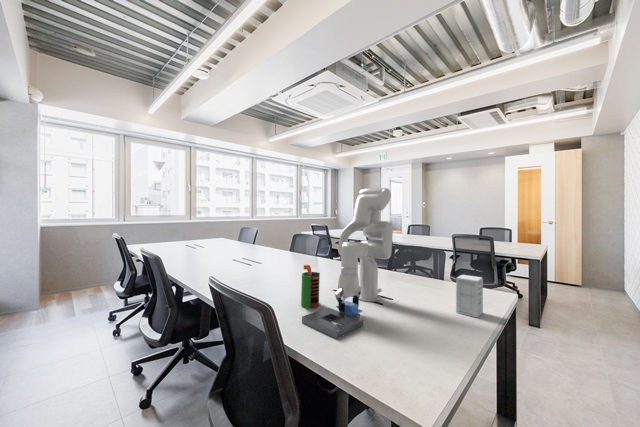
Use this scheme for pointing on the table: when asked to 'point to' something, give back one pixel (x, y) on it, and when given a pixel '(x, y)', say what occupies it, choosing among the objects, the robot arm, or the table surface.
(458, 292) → the supplement box
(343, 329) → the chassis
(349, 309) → the servo
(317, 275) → the motor
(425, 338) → the table surface
